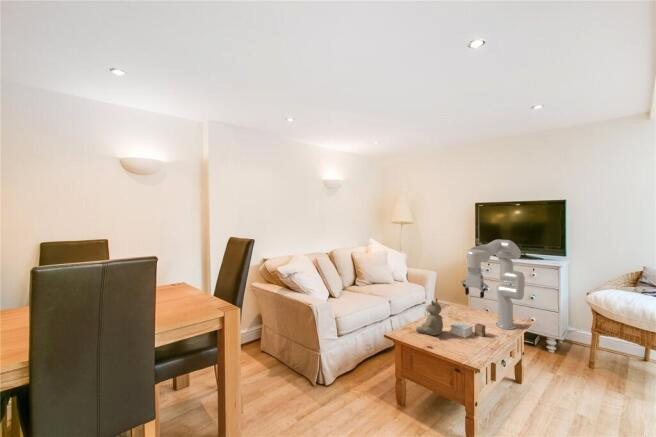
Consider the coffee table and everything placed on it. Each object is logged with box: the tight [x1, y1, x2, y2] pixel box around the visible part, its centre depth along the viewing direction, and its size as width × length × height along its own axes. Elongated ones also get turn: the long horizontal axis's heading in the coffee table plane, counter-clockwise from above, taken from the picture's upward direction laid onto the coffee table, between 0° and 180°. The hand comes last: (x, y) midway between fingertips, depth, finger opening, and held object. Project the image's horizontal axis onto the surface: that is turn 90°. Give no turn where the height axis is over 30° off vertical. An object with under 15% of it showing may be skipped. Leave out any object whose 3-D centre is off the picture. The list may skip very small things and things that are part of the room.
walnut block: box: [474, 323, 486, 338], centre depth 209 cm, size 5×5×7 cm
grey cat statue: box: [415, 297, 444, 336], centre depth 214 cm, size 21×16×25 cm
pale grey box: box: [450, 321, 474, 339], centre depth 211 cm, size 11×11×6 cm
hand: (474, 296), depth 196 cm, fingers open, 9 cm apart
